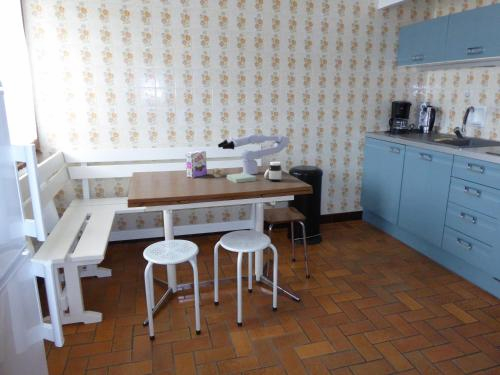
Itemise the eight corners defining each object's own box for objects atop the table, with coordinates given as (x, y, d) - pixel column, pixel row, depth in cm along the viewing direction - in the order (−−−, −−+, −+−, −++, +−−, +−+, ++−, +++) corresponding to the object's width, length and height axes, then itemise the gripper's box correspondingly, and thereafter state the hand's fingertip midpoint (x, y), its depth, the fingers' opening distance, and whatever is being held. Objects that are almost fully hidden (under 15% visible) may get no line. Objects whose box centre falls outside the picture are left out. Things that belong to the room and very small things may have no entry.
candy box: (192, 178, 253) (191, 153, 249) (186, 177, 257) (185, 152, 253) (207, 174, 264) (206, 150, 260) (200, 173, 267) (200, 150, 263)
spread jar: (280, 182, 239) (280, 163, 236) (262, 181, 241) (262, 163, 239) (282, 178, 251) (282, 160, 248) (265, 177, 253) (265, 160, 250)
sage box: (245, 177, 257) (245, 172, 256) (255, 181, 245) (255, 176, 244) (226, 179, 251) (226, 175, 250) (236, 183, 239) (235, 179, 238)
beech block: (219, 175, 262) (219, 168, 261) (222, 176, 258) (222, 169, 256) (213, 176, 260) (212, 168, 258) (215, 177, 255) (215, 170, 254)
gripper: (233, 135, 263) (215, 139, 258) (242, 137, 251) (223, 142, 246) (235, 145, 266) (217, 149, 260) (244, 147, 253) (225, 152, 248)
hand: (220, 146), depth 253 cm, fingers open, 7 cm apart
